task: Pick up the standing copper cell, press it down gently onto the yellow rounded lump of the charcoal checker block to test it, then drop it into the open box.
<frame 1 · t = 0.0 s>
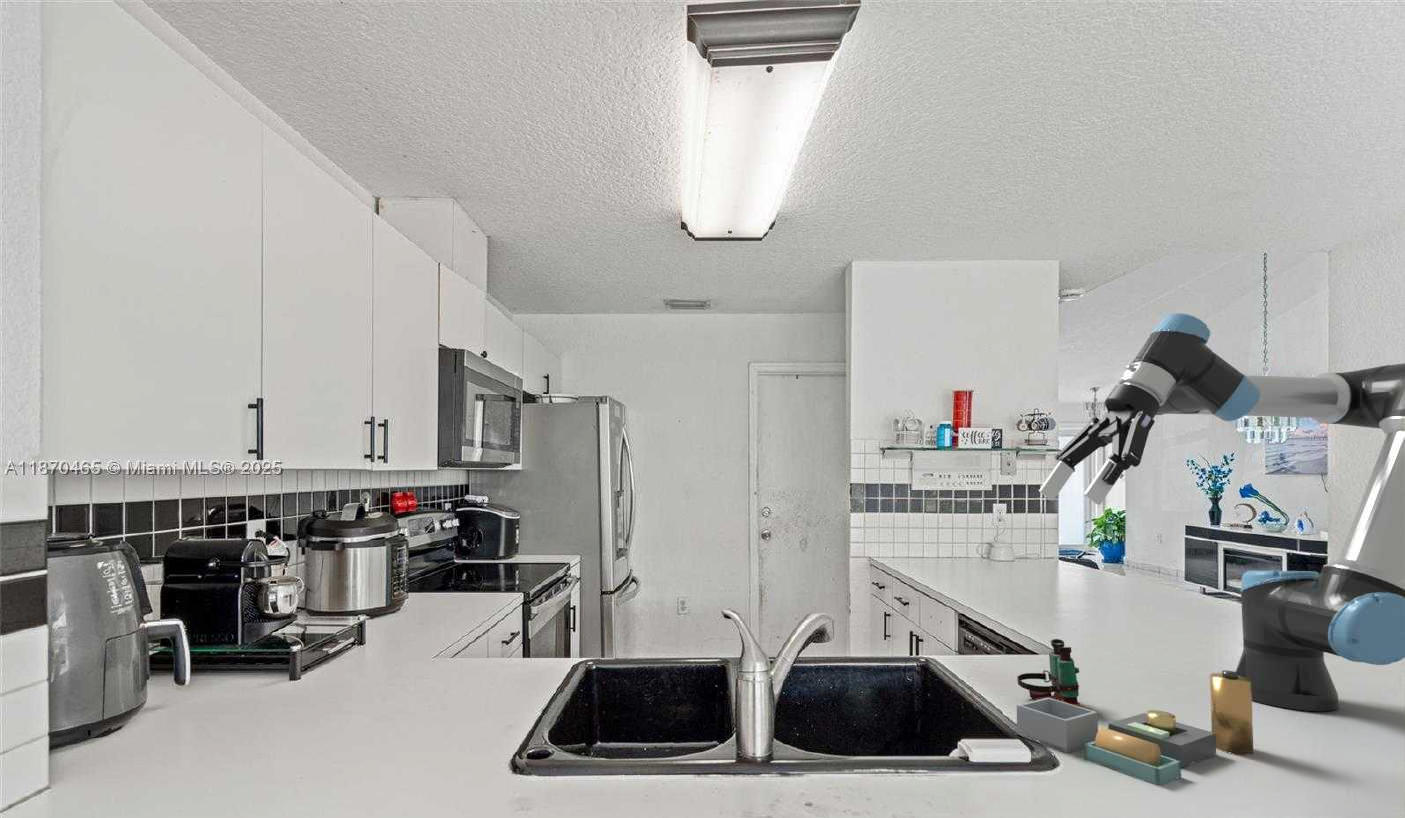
hand: (1067, 497, 122), 36 cm above the countertop, tool tilted 35°, fingers open, 13 cm apart
yellow rounded lump: (1161, 722, 109), point 4 cm above the countertop, slide at 0.0 cm
trough: (1131, 767, 102), on the countertop
open box: (1057, 739, 112), on the countertop
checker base: (1161, 749, 109), on the countertop
binoculars: (1049, 705, 130), on the countertop
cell: (1232, 748, 110), on the countertop
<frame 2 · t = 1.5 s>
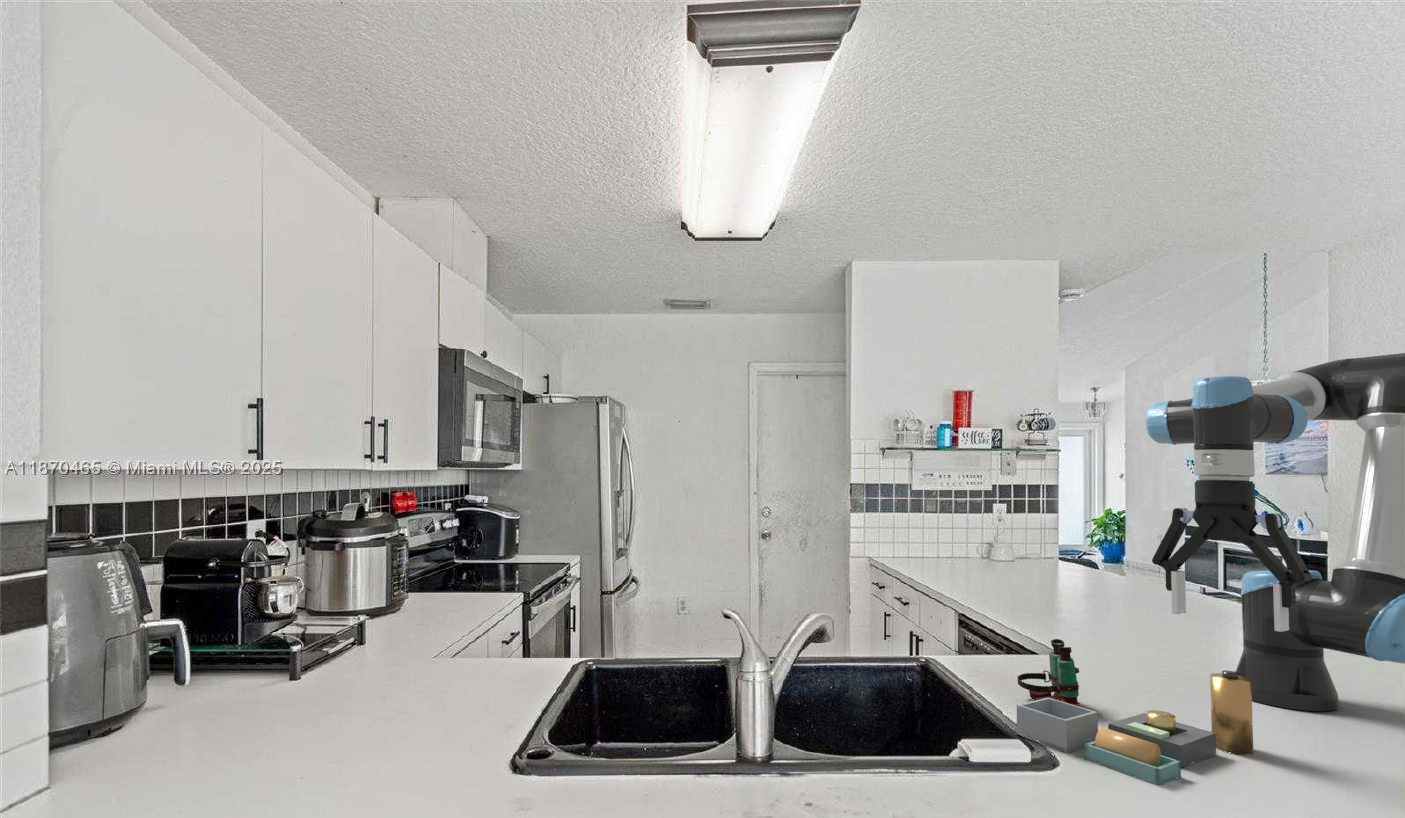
hand: (1227, 621, 112), 18 cm above the countertop, tool pointing down, fingers open, 13 cm apart
nothing on the countertop moved.
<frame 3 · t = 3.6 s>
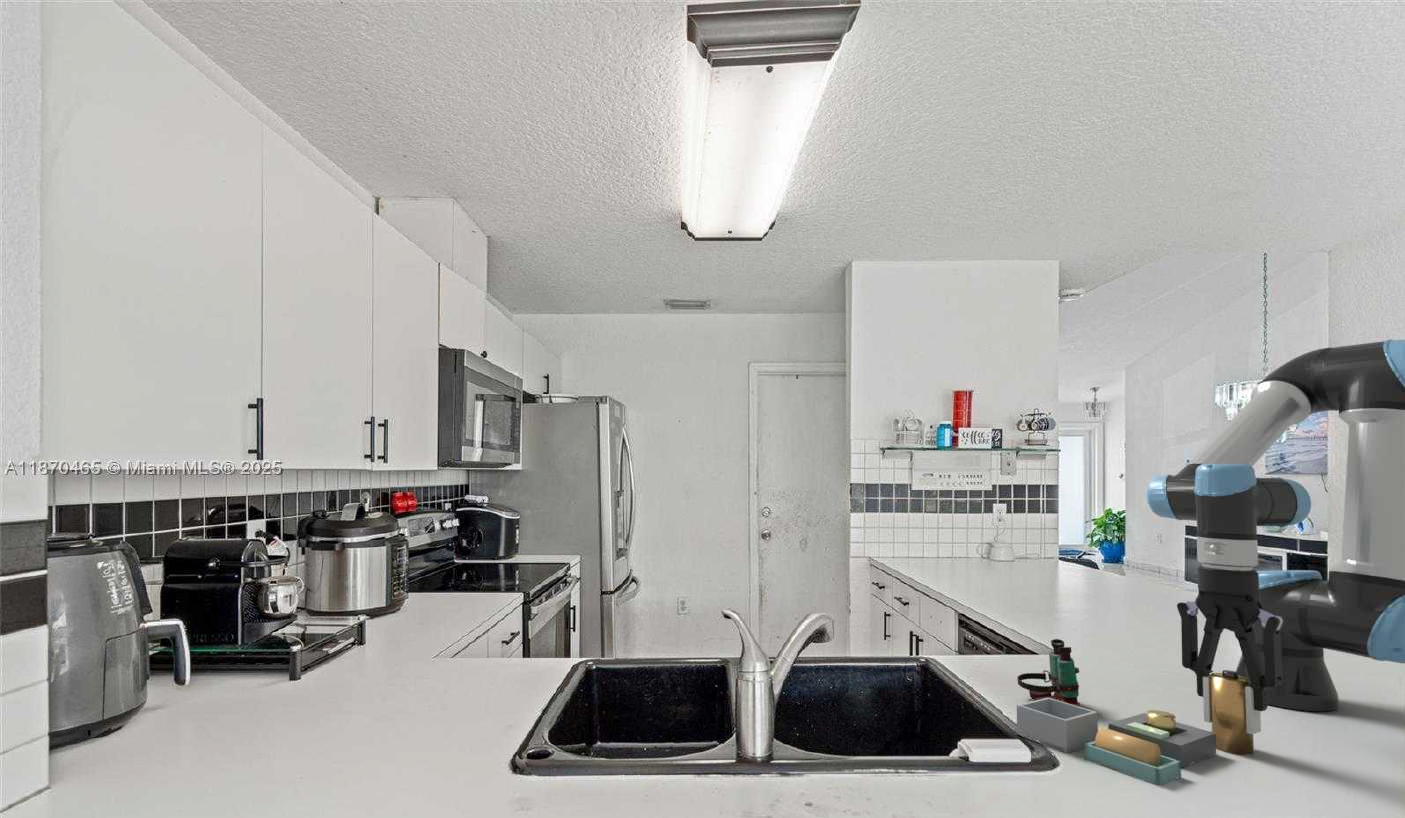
hand: (1232, 725, 111), 3 cm above the countertop, tool pointing down, fingers closed on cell, 5 cm apart
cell: (1232, 748, 110), on the countertop, touching gripper
everything else where it was.
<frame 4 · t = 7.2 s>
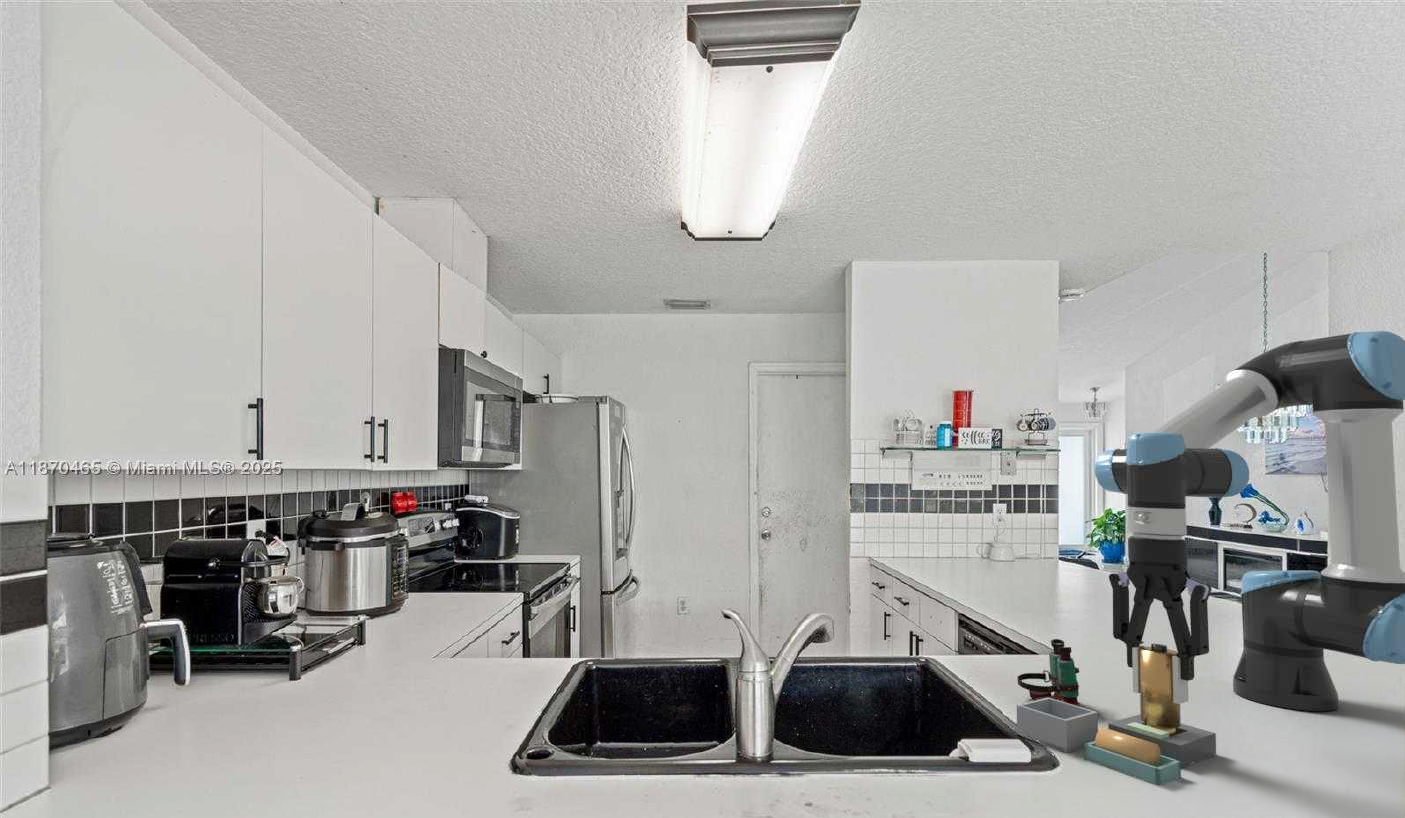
hand: (1160, 696, 110), 8 cm above the countertop, tool pointing down, fingers closed on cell, 5 cm apart
yellow rounded lump: (1161, 730, 109), point 3 cm above the countertop, slide at 1.1 cm, touching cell
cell: (1160, 721, 109), point 4 cm above the countertop, touching gripper, yellow rounded lump
everything else where it was.
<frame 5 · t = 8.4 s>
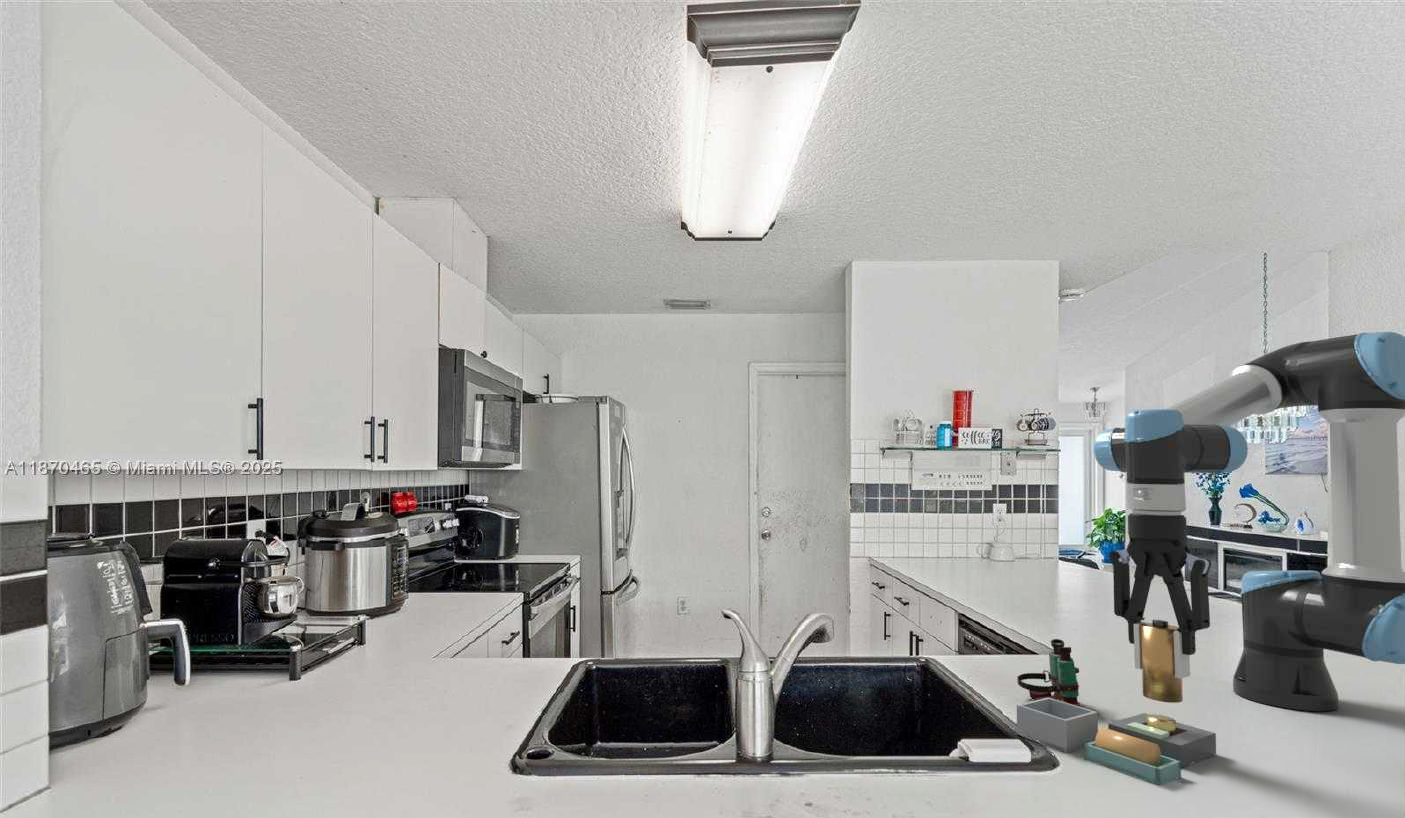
hand: (1162, 671, 110), 11 cm above the countertop, tool pointing down, fingers closed on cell, 5 cm apart
yellow rounded lump: (1161, 727, 109), point 3 cm above the countertop, slide at 0.6 cm
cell: (1162, 697, 110), point 7 cm above the countertop, touching gripper
everything else where it was.
when the fingers open (7 cm above the countertop, at t = 11.8 s): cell drops 3 cm, resting on open box.
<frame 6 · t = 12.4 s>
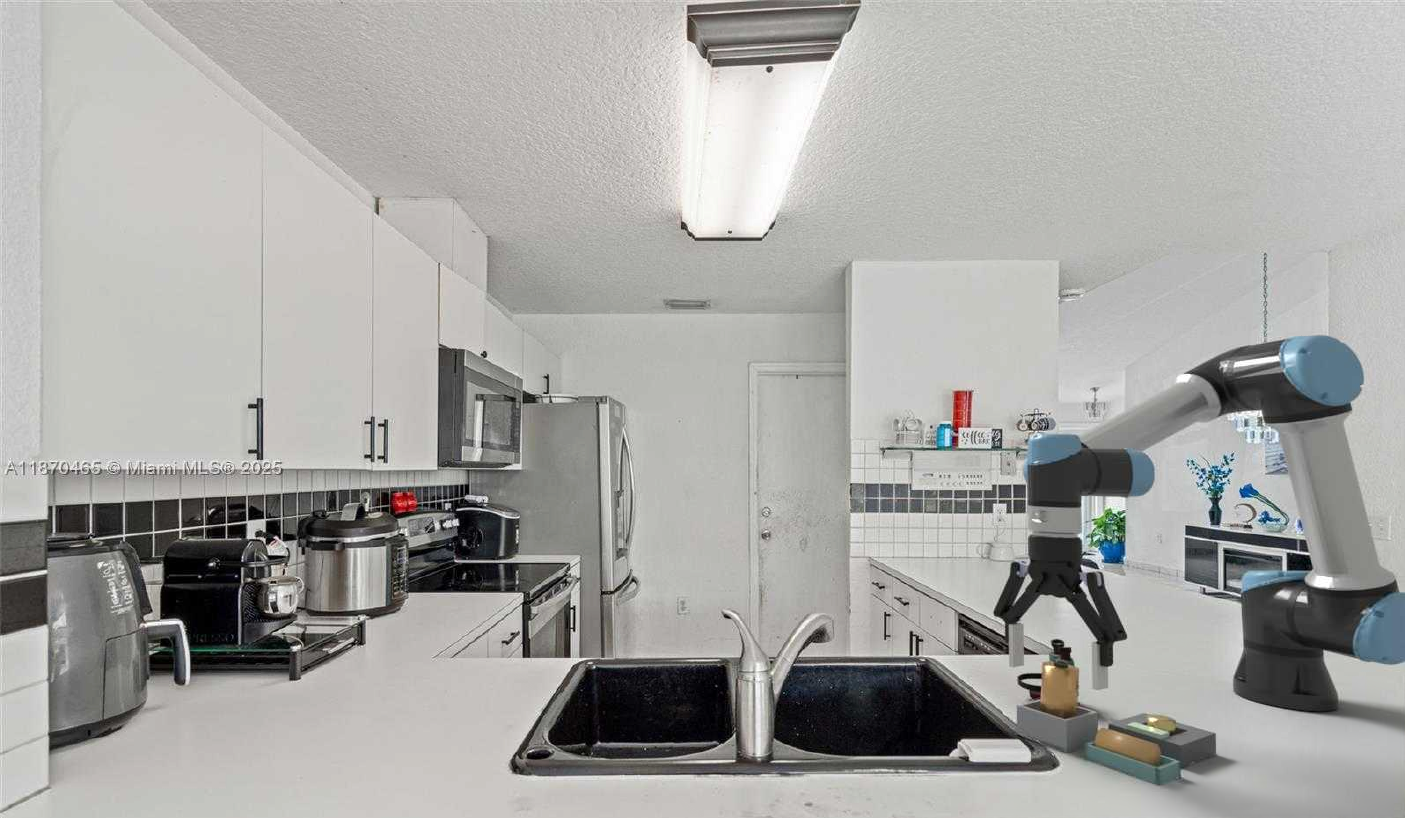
hand: (1056, 676, 113), 9 cm above the countertop, tool pointing down, fingers open, 13 cm apart
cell: (1057, 735, 112), point 1 cm above the countertop, touching open box
everything else where it was.
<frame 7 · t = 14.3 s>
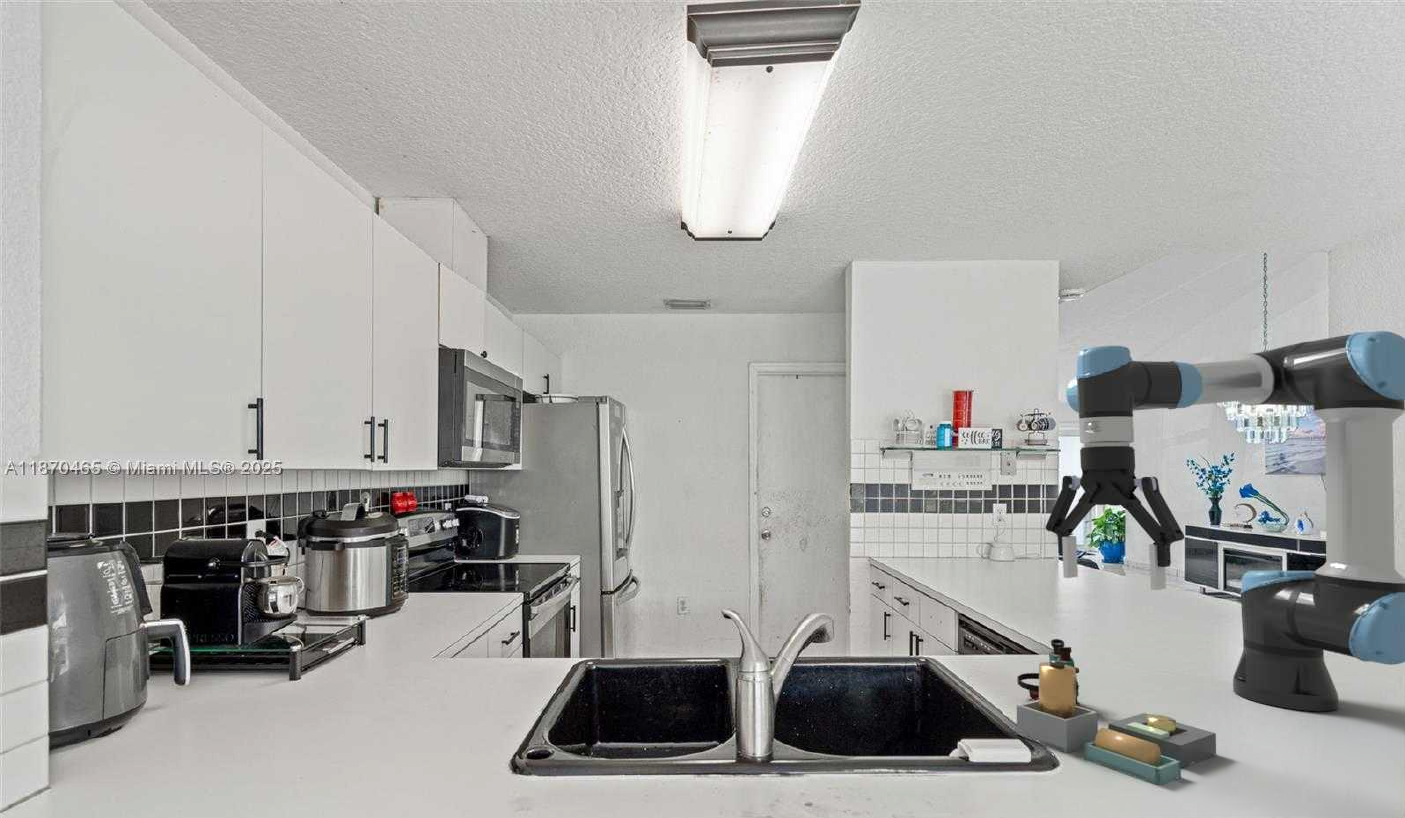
hand: (1112, 583, 116), 23 cm above the countertop, tool pointing down, fingers open, 13 cm apart
nothing on the countertop moved.
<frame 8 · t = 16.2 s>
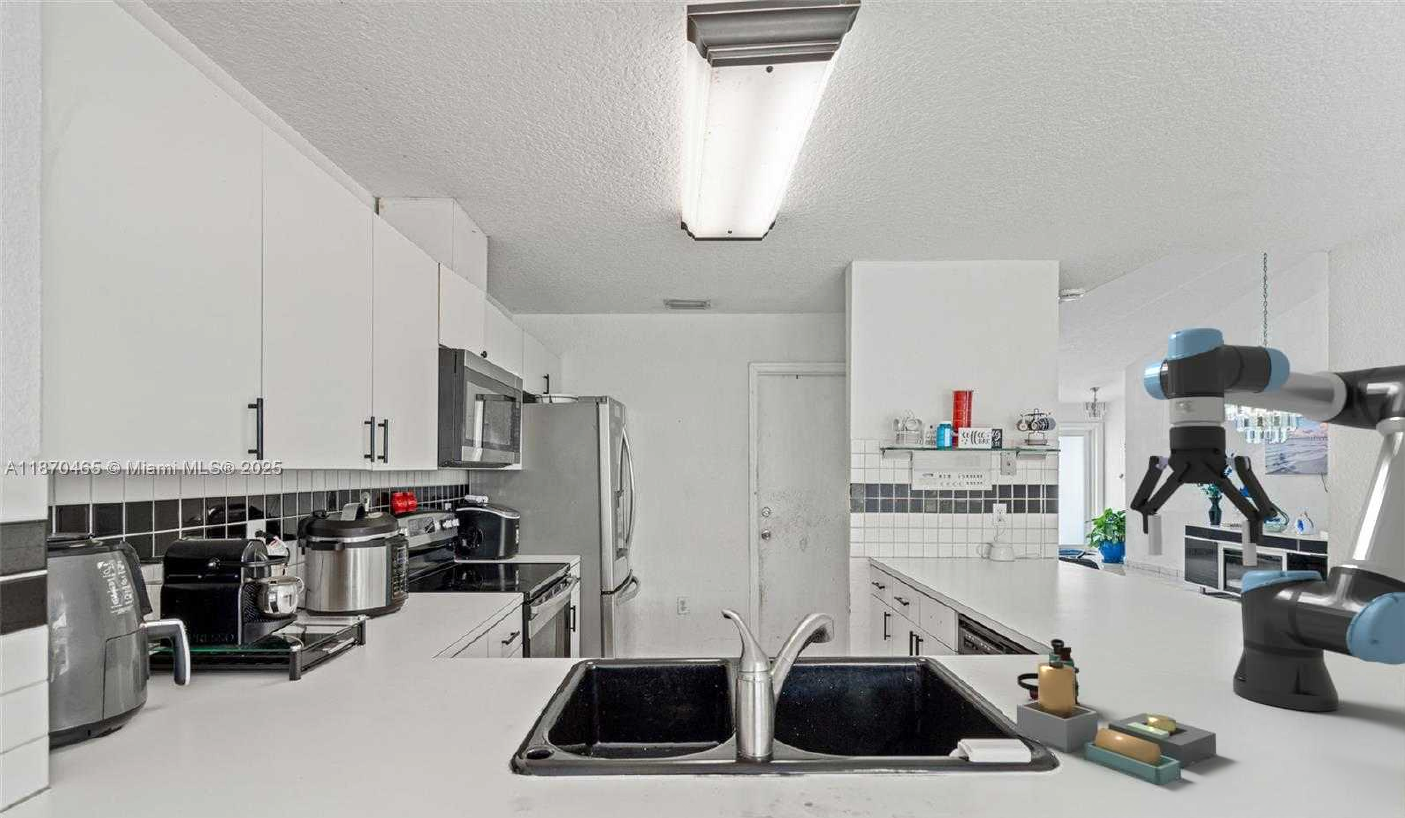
hand: (1200, 560, 118), 27 cm above the countertop, tool pointing down, fingers open, 13 cm apart
nothing on the countertop moved.
at the end: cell inside the target area on the open box (0.2 cm from its centre), point 0.5 cm above the open box's base; the gripper is holding nothing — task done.
